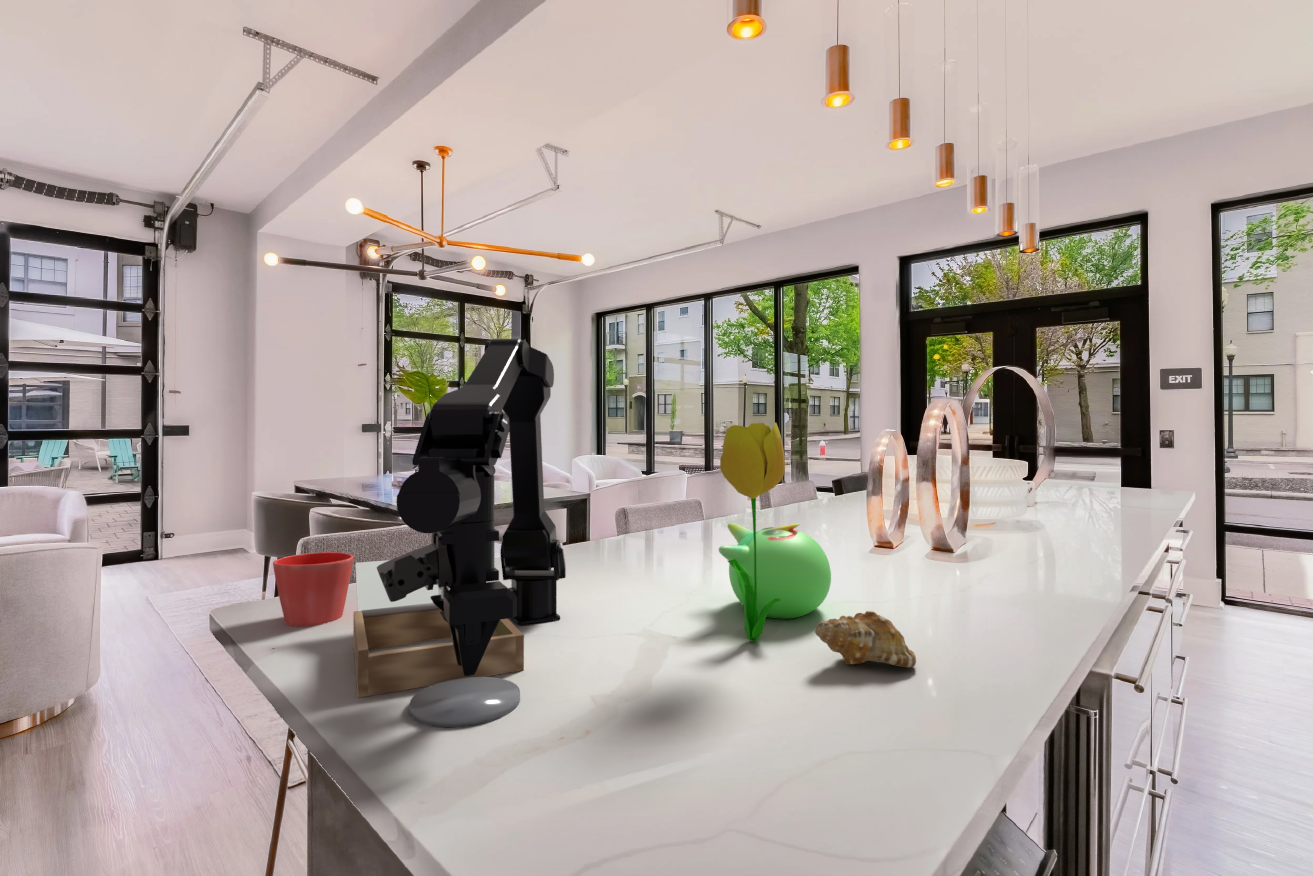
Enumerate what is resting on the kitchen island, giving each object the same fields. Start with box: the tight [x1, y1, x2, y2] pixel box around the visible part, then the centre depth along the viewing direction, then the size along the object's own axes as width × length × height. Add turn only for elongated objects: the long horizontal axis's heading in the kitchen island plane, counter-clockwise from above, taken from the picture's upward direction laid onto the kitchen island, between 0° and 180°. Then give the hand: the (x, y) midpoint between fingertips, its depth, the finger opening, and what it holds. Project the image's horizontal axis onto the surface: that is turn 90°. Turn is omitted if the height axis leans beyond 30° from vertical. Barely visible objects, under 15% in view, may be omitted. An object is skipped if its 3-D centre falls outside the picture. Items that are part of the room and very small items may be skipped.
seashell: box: [814, 610, 917, 668], centre depth 77 cm, size 9×8×10 cm
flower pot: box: [272, 551, 354, 627], centre depth 98 cm, size 11×11×10 cm
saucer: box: [409, 676, 521, 728], centre depth 66 cm, size 11×11×1 cm
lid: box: [355, 559, 439, 618], centre depth 92 cm, size 17×11×10 cm, turn 117°
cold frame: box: [352, 609, 525, 698], centre depth 80 cm, size 18×18×5 cm
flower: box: [719, 422, 786, 644], centre depth 85 cm, size 9×8×30 cm
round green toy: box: [718, 522, 832, 620], centre depth 100 cm, size 18×17×15 cm
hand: (466, 669), depth 66 cm, fingers open, 3 cm apart
